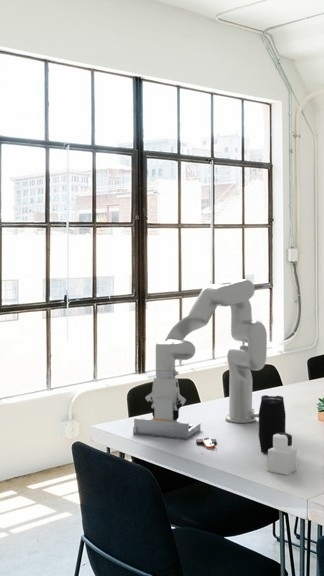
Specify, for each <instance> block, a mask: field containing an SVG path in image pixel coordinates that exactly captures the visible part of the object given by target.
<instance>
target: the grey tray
mask: <svg viewBox="0 0 324 576" xmlns="http://www.w3.org/2000/svg"><path fill="white" fill-rule="evenodd" d="M133 419H134V421H133V423H134V425H133V427H132V434H133V435H135V436H136V435H137V436H145V437H146V436H147V437H155V438H162V439H163V438H164V439H170V440H171V439H173V440H183V441H188V440H189V439H191V438H192V437H194V435H196V434H197V433H199V432H200V431H201V422H197V423H196V424H190V422H183V421H182V422H181V421H177V422H173V421H171V420H161V419H153V418H141V417H140V418H139V417H134V418H133Z"/></svg>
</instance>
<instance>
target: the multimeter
mask: <svg viewBox="0 0 324 576" xmlns="http://www.w3.org/2000/svg"><path fill="white" fill-rule="evenodd" d="M195 443H196V446H204V447H205V448H206V449H207V450H208V449H210V450H212V451H213V452H217V450H218V449H217V447H216V446H217V445H218V443H217V439H216V438H211V437H209V436H205V437H202V438H196V439H195ZM214 449H216V451H215V450H214ZM201 454H202V455H204V452H203V453H202V452H201Z"/></svg>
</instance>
